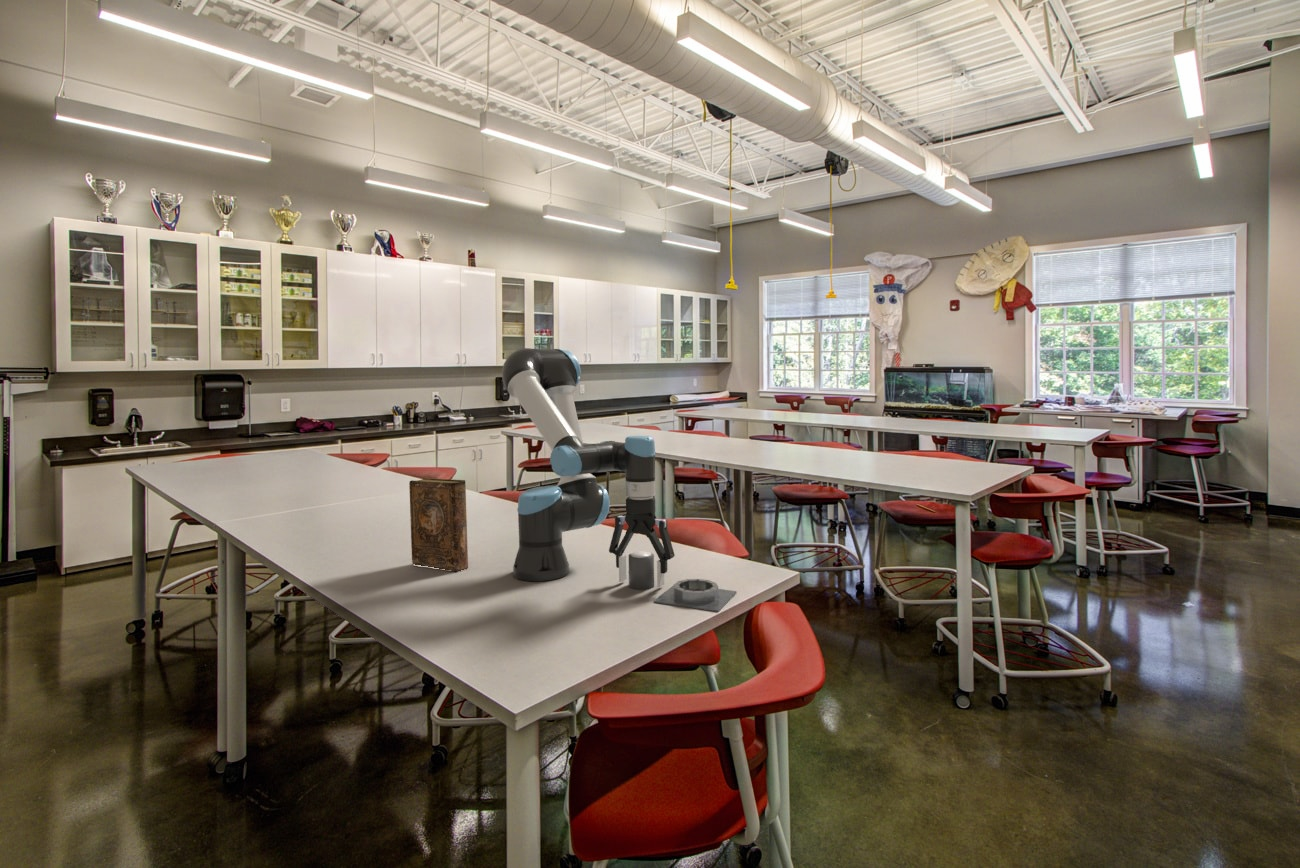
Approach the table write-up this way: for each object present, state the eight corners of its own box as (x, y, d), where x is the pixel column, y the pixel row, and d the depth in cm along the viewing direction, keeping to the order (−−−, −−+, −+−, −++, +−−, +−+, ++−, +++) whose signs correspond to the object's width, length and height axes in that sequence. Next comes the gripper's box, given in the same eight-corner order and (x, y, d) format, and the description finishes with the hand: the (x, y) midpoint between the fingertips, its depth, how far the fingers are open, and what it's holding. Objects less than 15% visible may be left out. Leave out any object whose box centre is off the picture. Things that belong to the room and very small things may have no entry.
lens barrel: (624, 588, 159) (624, 556, 159) (635, 580, 165) (635, 549, 165) (647, 591, 157) (647, 558, 156) (658, 583, 163) (658, 552, 162)
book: (471, 567, 179) (468, 480, 177) (458, 572, 174) (455, 483, 172) (425, 561, 185) (422, 477, 183) (412, 566, 180) (408, 480, 178)
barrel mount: (653, 602, 149) (653, 589, 148) (676, 585, 161) (676, 573, 161) (718, 611, 142) (718, 599, 142) (736, 593, 155) (736, 581, 154)
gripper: (594, 496, 161) (595, 581, 162) (676, 502, 151) (676, 592, 153) (608, 491, 167) (609, 573, 169) (687, 497, 158) (688, 584, 160)
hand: (641, 582), depth 161 cm, fingers open, 10 cm apart
